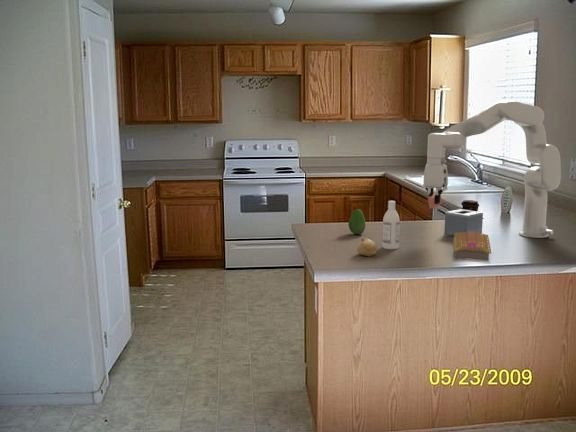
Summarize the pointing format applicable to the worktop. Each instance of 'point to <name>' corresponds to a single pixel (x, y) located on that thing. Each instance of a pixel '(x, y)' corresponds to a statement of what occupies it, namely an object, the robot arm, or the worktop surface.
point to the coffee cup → (470, 205)
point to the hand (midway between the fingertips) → (434, 203)
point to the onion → (366, 247)
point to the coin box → (463, 222)
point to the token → (432, 200)
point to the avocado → (357, 222)
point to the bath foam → (391, 227)
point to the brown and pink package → (471, 246)
